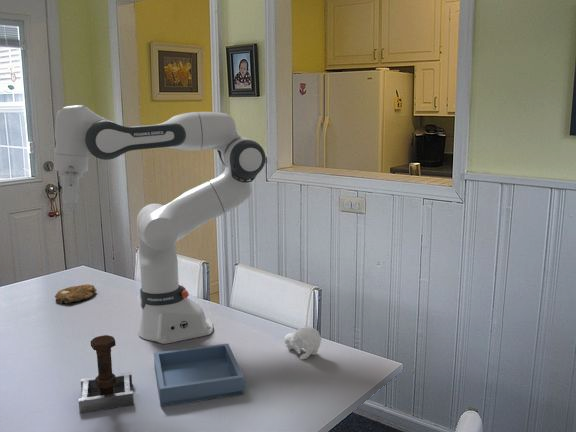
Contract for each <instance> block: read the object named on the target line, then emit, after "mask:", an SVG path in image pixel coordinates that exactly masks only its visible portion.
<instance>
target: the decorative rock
mask: <svg viewBox="0 0 576 432" xmlns="http://www.w3.org/2000/svg"><path fill="white" fill-rule="evenodd" d="M97 292H98V290H97V288H95V286H94V285H92V284H81V285H73V286H69V287H66V288H63V289H60V290H58V291H57V293H56V294H55V296H54V298H55V302H56V304H60V305H61V304H63V303H64V304H72V303H74V302H75V303H77V302H80V301H82V300H87V299H88V298H91V297H92V296H94V295H96V293H97Z"/></svg>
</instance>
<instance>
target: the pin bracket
mask: <svg viewBox="0 0 576 432" xmlns="http://www.w3.org/2000/svg"><path fill="white" fill-rule="evenodd" d="M114 375H115V376H116V383H115V385H113V389H118V388H124V391H123V392H117V393H115V392H114V394H108V395H101V396H100V395H95V396H90V392H96V391H100V388H98V387H97V385H96V382H95V378H96V377H97V376H94V377H89V378H88V377H87V378H82V379H80V388H81V389H80V390H81V391H80V392H81V398H78V410H79V414H82V413H90V412H95V411H101V410H102V411H103V410H111V409H117V408H124V407H130V406H134V404H135V403H134V391H133V390H131V386H133V375H132V372H127V373H119V374H118V373H116V374H114Z"/></svg>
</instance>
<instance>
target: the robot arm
mask: <svg viewBox="0 0 576 432" xmlns="http://www.w3.org/2000/svg"><path fill="white" fill-rule="evenodd" d="M54 123H55V124H54V139H55V140H54V141H55V148H54V152H53V153H54V154H53V155H54V156H53V157H54V158H53V170H54V171H57V172H58V177H60V178H61V179H62V186H63V187H62V189H63V191H62V202H63V204H65V210H66V211H65V212H66V213H65V214H66V216H65V217H66V218H73V217H74V209H75V204H77V203H78V200H79V181H80V179H81V178H83V176H84V173H87V172H89V153H90V154H91V155H92V156H94V157H95V158H97V159H100V160H104V161H105V160H107V161H108V160H113V159H116V158H118V157H120V156H122V155H124V154H125V153H128V152H130V151H138V150H139V151H140V150H147V149H149V150H150V149H160V148H163V149H164V148H165V149H172V150H178V151H203V150H205V151H206V150H216V151H217V153H218V156H219V159H220V161H221V163H222V164H223V166H225V169H224V170H223V172H222V173H220V174H219V175H218V176H216V177H214V178H212V179H209V180H207V181H205V182H203V183H201V184H199V185H196V186H194V187H193V188H190V189H188V190H186V191H184V192H183V193H181V194H180V195H179V196H178V197H176V198H174V199H173V200H172V201H169V202H168V203H167V204H165V205H163V204H160V203H150V204H147V205H145V206H144V207H142V208H141V209H140V211H139V212H138V214H137V218H136V231H137V233H136V234H137V242H138V243H137V245H138V255H139V266H140V267H139V269H140V285H141V288H140V290H139V291H140V292H139V301H140V308H141V319H140V325H139V329H138V335H139V337H140V338H142V339H144V340H147V341H153V342H157V343H159V344H163V345H165V344H170V343H176V342H180V341H185V340H191V339H195V338H199V337H204V336H208V335H211V334H212V333H213V331H214V326H213V323H212V320H210V319H209V317H207V316H206V315H205V311H204V310H203V307H202V306H201V305H200V304H199V303H197V302H195V301H194V300H192V299H191V298H188V297H189V291H188V290H186V287H184V285H183V284H181V285H180V284H179V265H178V262H179V261H178V256H177V255H178V254H177V248H176V247H177V246H176V243H177V242H178V241H180V240H181V239H183V238H184V237H186V236H187V235H189V234H190V233H192V232H193V231H195V230H196V229H197V228H199V227H201V226H203V225H204V224H206V223H209V222H210V221H212V220H215V219H216V218H218V217H220V216H223V215H225V214H226V213H229V212H230V211H232V210H234V209H235V208H237V207H239V206H240V205H241V204H242V203H245V201H247V200H248V199H249V198H250V196H251V194H252V187H251V183H252V182H253V181H254V180H255V178H256V177H257V176H258V174H260V173H261V172H262V170H263V168H264V167H265V165H266V160H267V157H266V152H265V150H264V148H263V146H261V145H260V144H259V142H257V141H255V140H253V139H252V138H251V139H250V138H248V137H244V136H241V135H239V134H238V132H237V125H236V122H235V120H234V118H233V117H232V116H231V115H230V114H228V113H225V112H218V111H217V112H215V111H191V112H185V113H180V114H177V115H174V116H172V117H171V118H169V119H168V120H166V121H164V122H161V123H156V124H149V125H148V124H147V125H145V124H144V125H134V126H133V125H132V126H126V125H120V124H119V123H118V124H117V123H116V122H115V121H112V120H110V119H107V118H105V117H103V116H101V115H99V114H97V113H96V112H94V111H93V110H92V109H90V108H88V106H86V105H84V104H79V105H67V106H66V105H65V106H63V107H61V108H60V109H59V110H58V111H57V113H56V117H55V122H54Z"/></svg>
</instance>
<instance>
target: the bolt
mask: <svg viewBox="0 0 576 432" xmlns="http://www.w3.org/2000/svg"><path fill="white" fill-rule="evenodd" d="M115 346H117V345H116V339H115V338H114V336H111V335H107V334H105V335H100V336H96V337H93V338H92V339H91V340H90V347H91V348H92V350H93V351H96V352H95V353H96V359H97V360H96V361H97V373H98V375H97V376H95V377H96V378H95V382H96V385H97V387H98V388H100V390H99V396H101V395H108V394H115V391H114V388H113V385H115V383H116V376H115V375H116V374H115V373H114V372H113V364H112V362H113V361H112V348H113V347H115Z"/></svg>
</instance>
